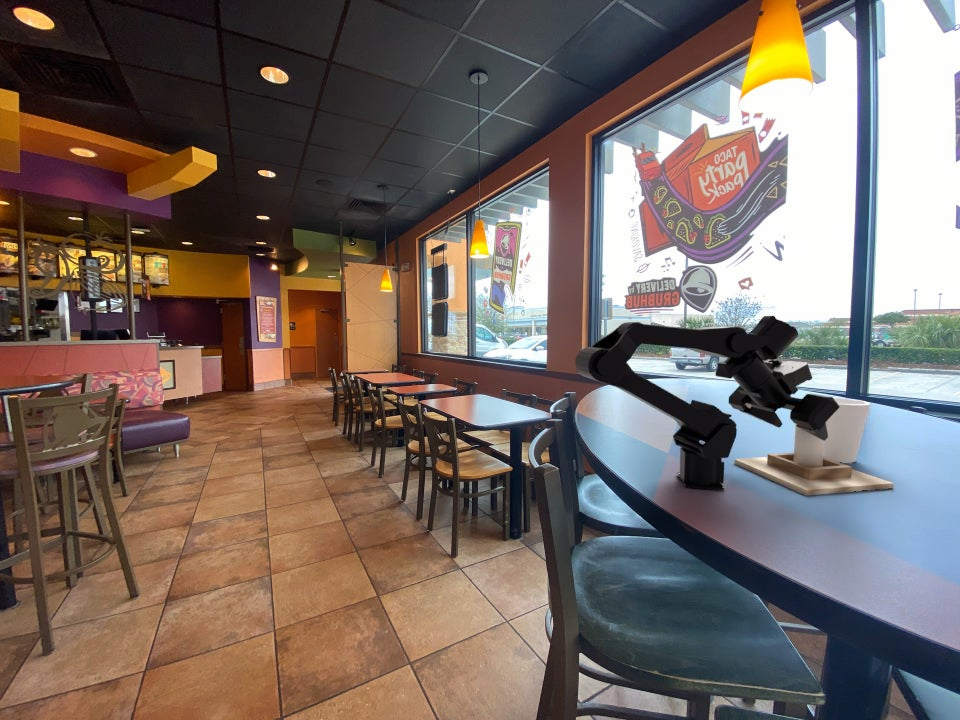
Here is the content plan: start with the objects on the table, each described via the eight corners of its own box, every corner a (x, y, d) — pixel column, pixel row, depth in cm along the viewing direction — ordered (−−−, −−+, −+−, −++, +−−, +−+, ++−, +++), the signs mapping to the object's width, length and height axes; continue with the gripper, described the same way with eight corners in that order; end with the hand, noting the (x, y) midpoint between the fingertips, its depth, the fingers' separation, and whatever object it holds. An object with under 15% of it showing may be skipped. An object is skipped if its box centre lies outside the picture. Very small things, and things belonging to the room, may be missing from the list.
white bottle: (813, 475, 73) (817, 419, 72) (788, 468, 77) (790, 414, 76) (827, 472, 75) (830, 417, 74) (801, 464, 79) (804, 412, 78)
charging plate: (806, 495, 67) (807, 479, 67) (734, 463, 83) (734, 450, 83) (893, 488, 69) (894, 472, 69) (807, 458, 85) (808, 445, 85)
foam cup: (845, 467, 80) (849, 406, 78) (798, 453, 88) (801, 398, 87) (876, 462, 82) (881, 403, 81) (827, 449, 91) (831, 395, 90)
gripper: (834, 350, 64) (884, 412, 66) (743, 345, 82) (785, 394, 85) (789, 397, 63) (841, 459, 66) (708, 382, 82) (751, 430, 84)
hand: (801, 431), depth 75 cm, fingers open, 9 cm apart
